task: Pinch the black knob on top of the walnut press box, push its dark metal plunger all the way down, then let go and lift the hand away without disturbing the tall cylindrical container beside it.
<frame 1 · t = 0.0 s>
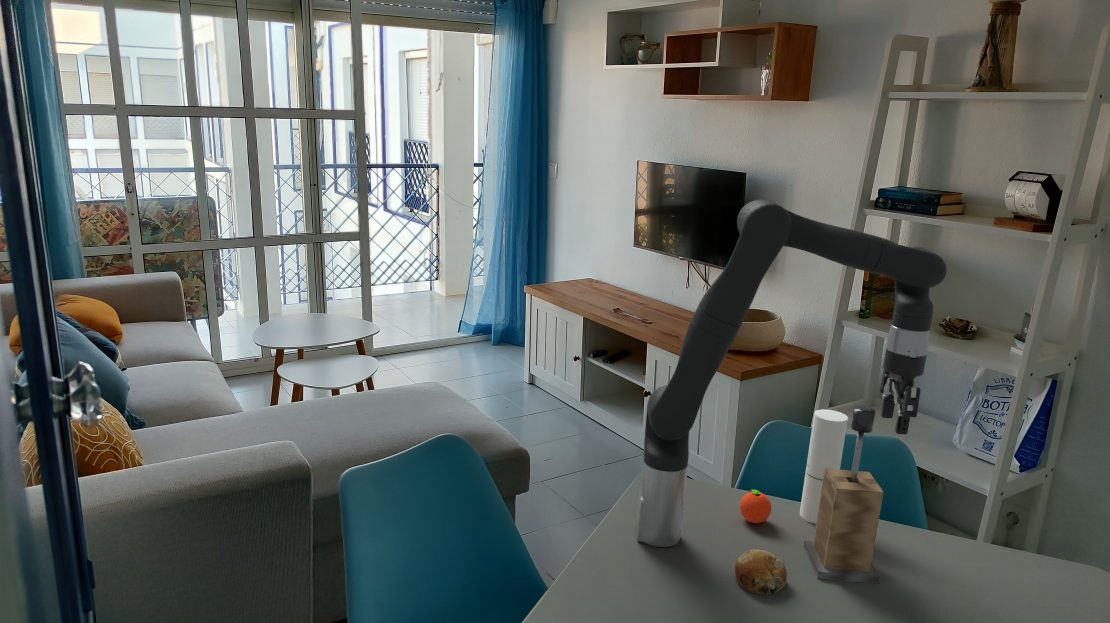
hand: (893, 425, 162), 29 cm above the table, tool pointing down, fingers open, 8 cm apart
cylindrical container: (815, 517, 184), on the table
bread roll: (759, 583, 157), on the table
press box: (839, 564, 165), on the table
clementine: (752, 520, 181), on the table
plunger: (855, 465, 159), point 22 cm above the table, slide at 8.0 cm
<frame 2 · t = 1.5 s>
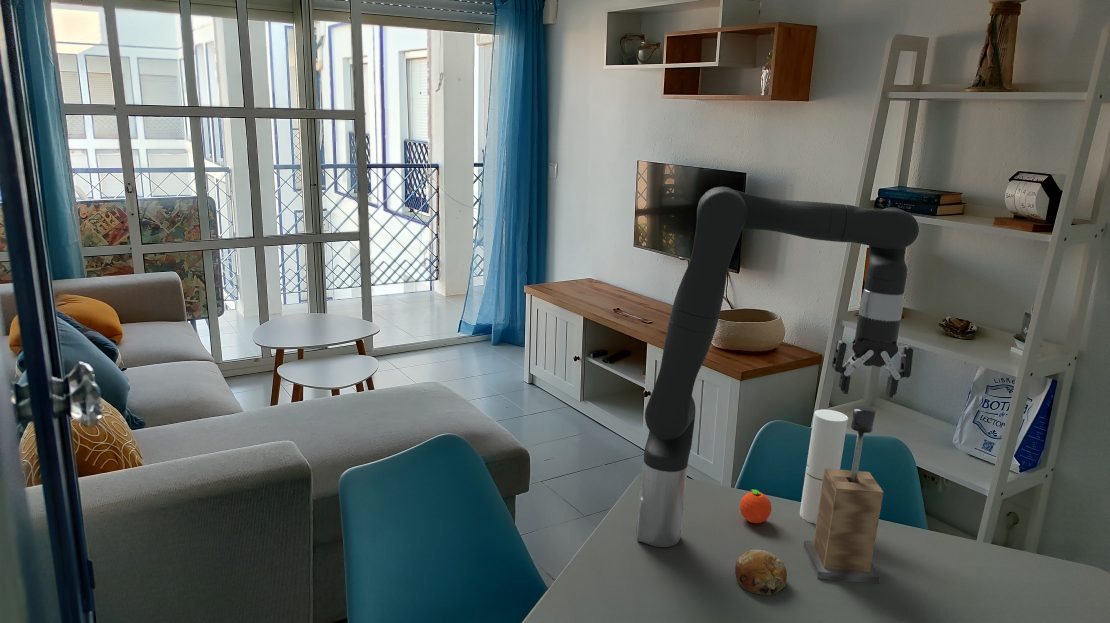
hand: (866, 394, 156), 37 cm above the table, tool pointing down, fingers open, 8 cm apart
nothing on the table moved.
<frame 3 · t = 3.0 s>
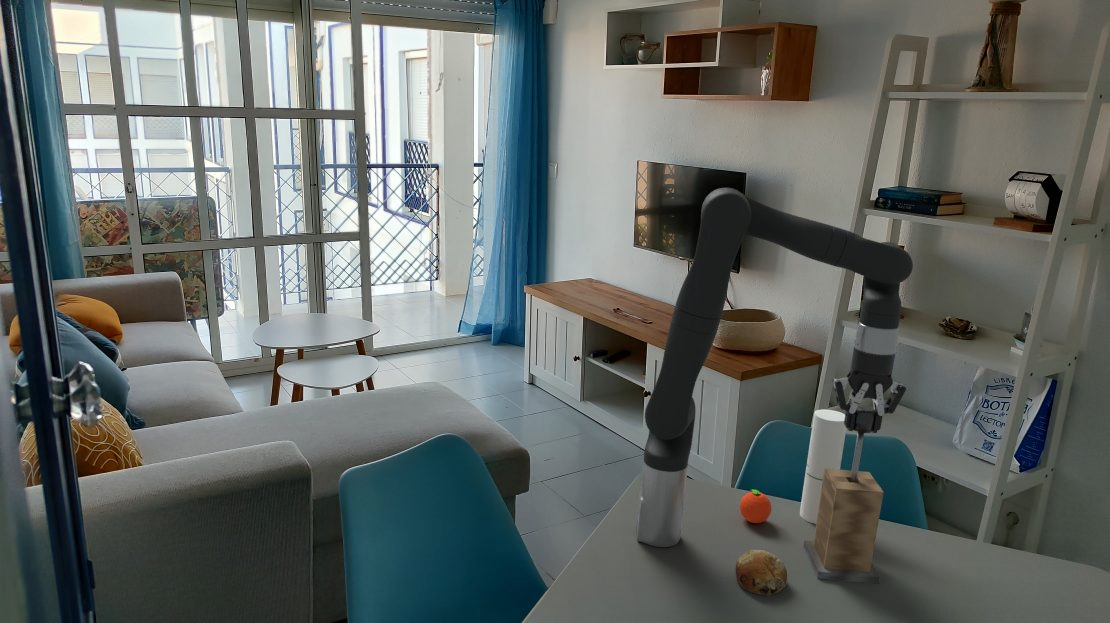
hand: (861, 430, 157), 30 cm above the table, tool pointing down, fingers closed on plunger, 4 cm apart
plunger: (855, 466, 159), point 22 cm above the table, slide at 8.0 cm, touching gripper
everything else where it was.
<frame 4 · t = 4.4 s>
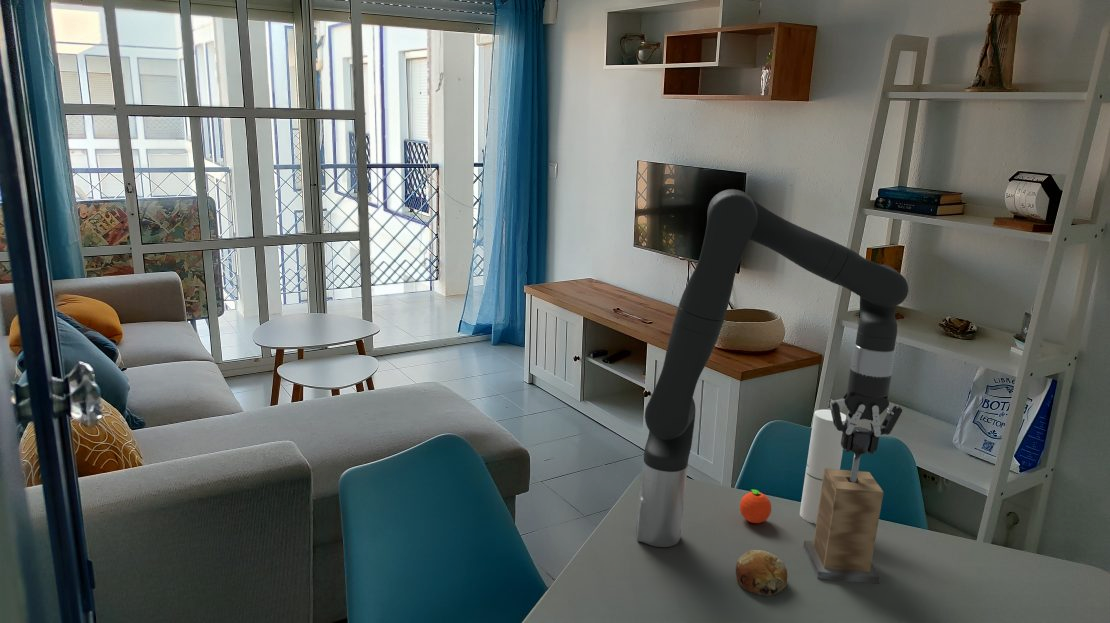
hand: (858, 450, 158), 25 cm above the table, tool pointing down, fingers closed on plunger, 4 cm apart
plunger: (852, 486, 160), point 18 cm above the table, slide at 3.6 cm, touching gripper
everything else where it was.
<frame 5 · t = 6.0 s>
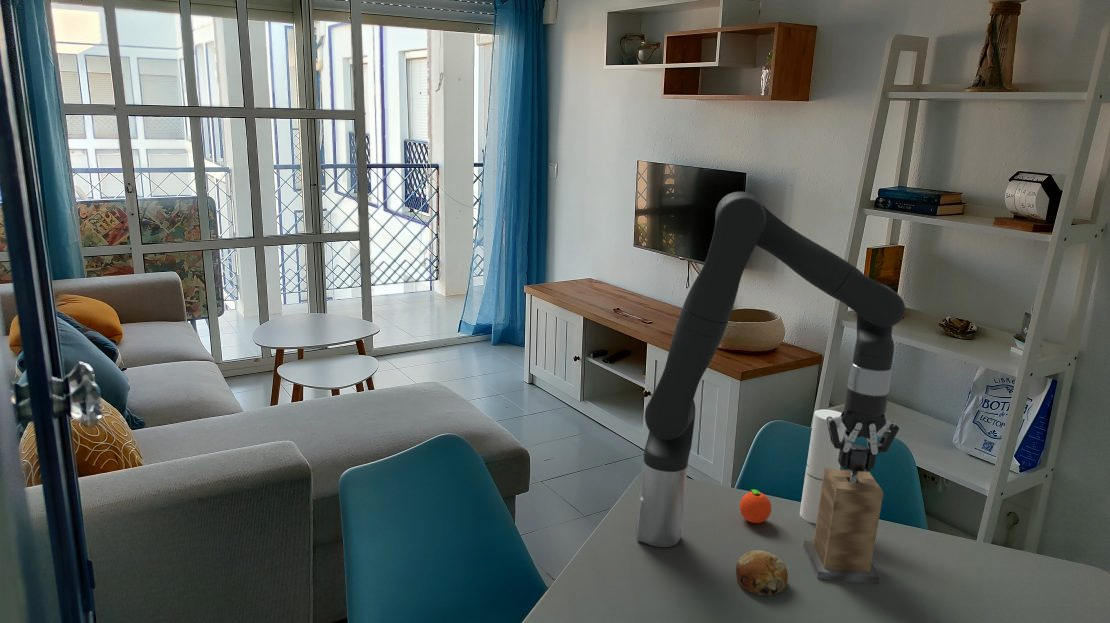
hand: (855, 468, 159), 22 cm above the table, tool pointing down, fingers closed on plunger, 4 cm apart
plunger: (849, 503, 161), point 14 cm above the table, slide at -0.2 cm, touching gripper
everything else where it was.
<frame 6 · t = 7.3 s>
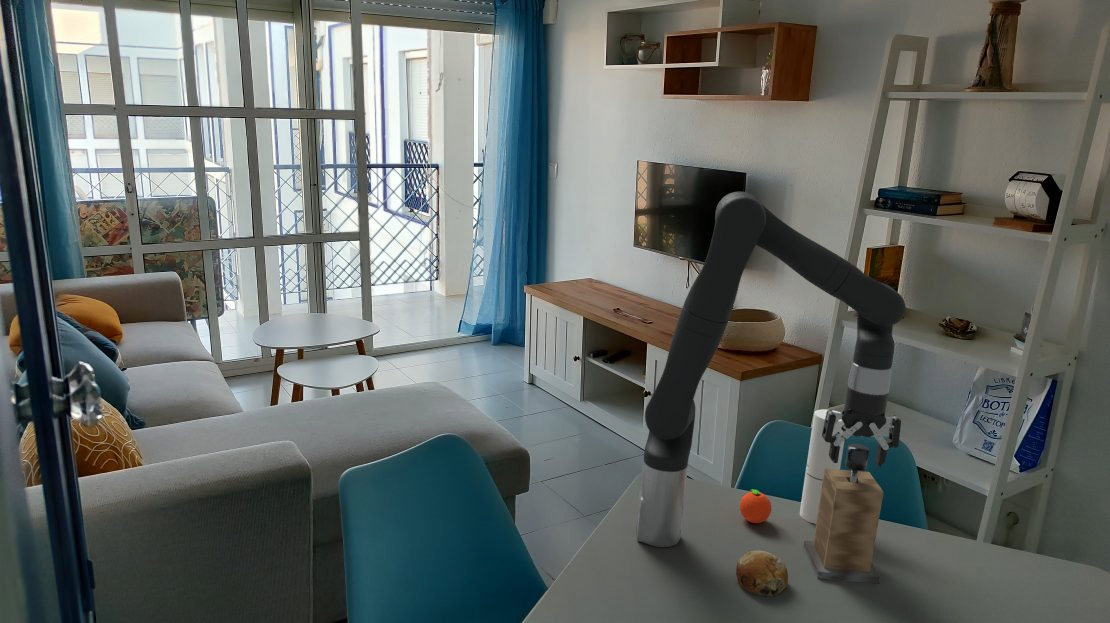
hand: (856, 463, 159), 23 cm above the table, tool pointing down, fingers open, 8 cm apart
plunger: (849, 502, 161), point 14 cm above the table, slide at 0.0 cm
everything else where it was.
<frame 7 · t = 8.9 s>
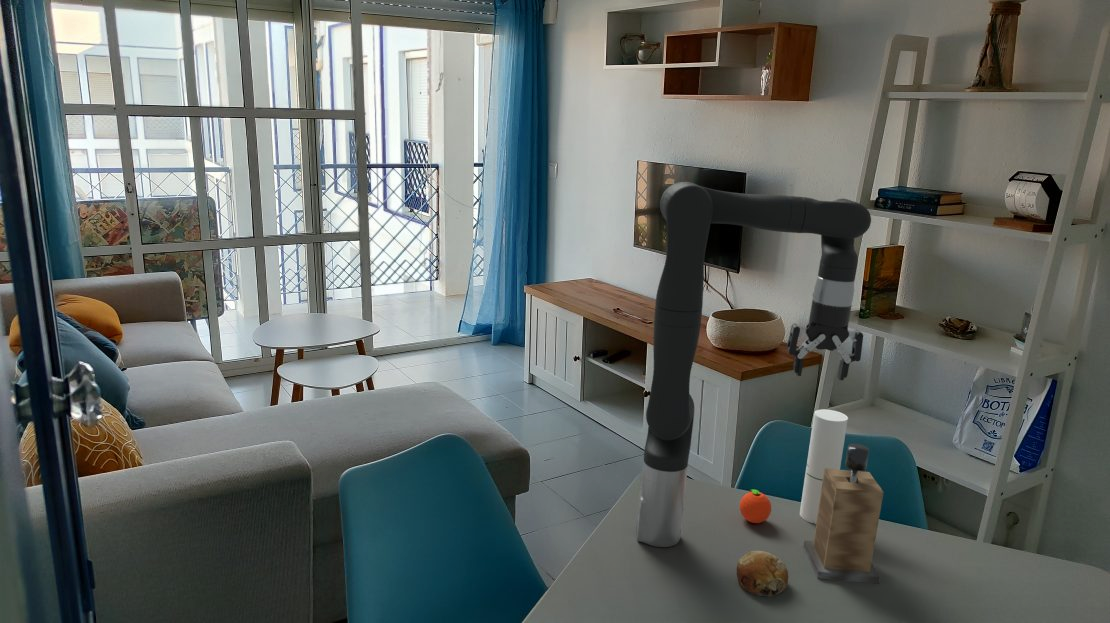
hand: (819, 377, 164), 37 cm above the table, tool pointing down, fingers open, 8 cm apart
nothing on the table moved.
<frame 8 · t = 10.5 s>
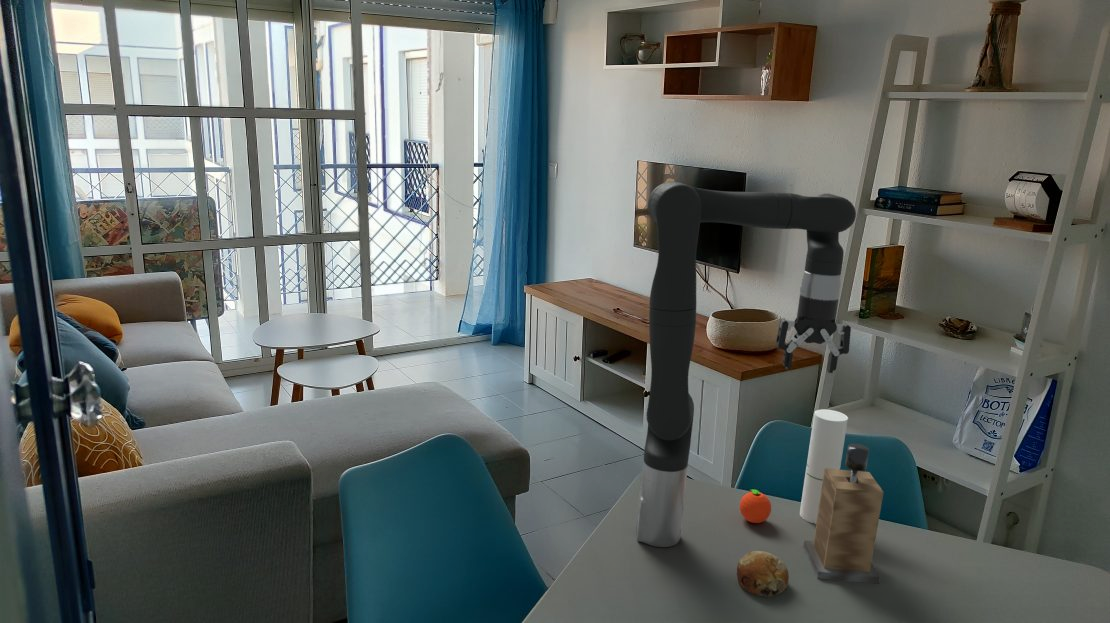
hand: (808, 370, 165), 38 cm above the table, tool pointing down, fingers open, 8 cm apart
nothing on the table moved.
at the end: plunger slide at 0.0 cm; the gripper is holding nothing; cylindrical container moved 0.2 cm from its start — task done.
